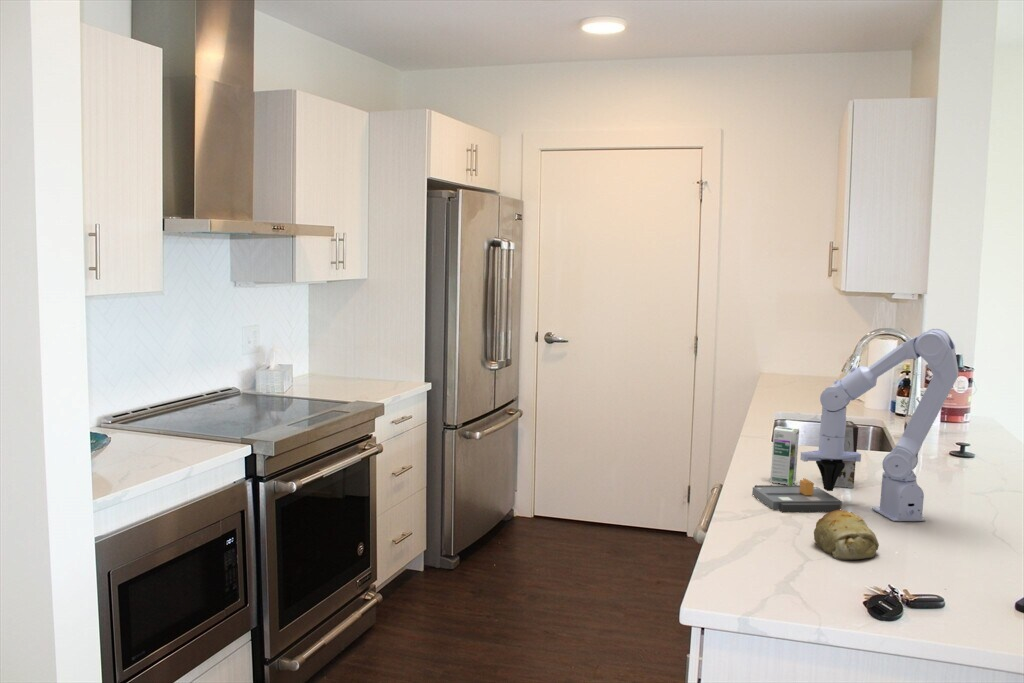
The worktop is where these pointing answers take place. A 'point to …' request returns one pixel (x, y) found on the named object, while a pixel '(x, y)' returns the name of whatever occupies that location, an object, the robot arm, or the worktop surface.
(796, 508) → the dark grey flat bars
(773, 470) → the syrup box
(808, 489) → the knob
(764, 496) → the panel
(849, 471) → the coffee box
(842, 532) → the pastry
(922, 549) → the worktop surface
